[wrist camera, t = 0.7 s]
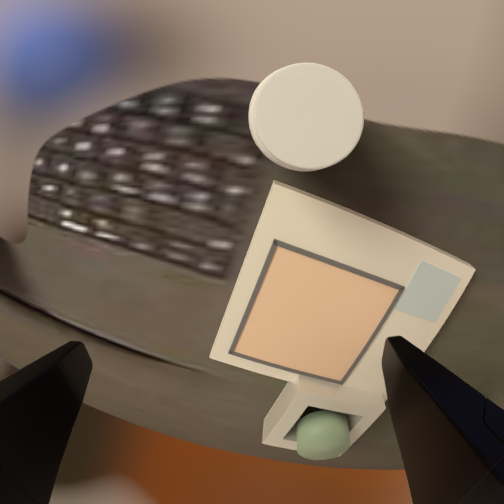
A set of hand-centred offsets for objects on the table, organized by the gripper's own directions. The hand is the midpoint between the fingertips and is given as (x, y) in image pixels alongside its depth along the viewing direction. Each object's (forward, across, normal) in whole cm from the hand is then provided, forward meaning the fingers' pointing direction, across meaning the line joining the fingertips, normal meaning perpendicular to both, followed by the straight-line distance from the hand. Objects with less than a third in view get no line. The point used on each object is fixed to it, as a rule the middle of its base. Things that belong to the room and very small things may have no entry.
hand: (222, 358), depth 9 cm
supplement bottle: (+14, -3, -6) cm, 15 cm away
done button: (+10, -4, +18) cm, 21 cm away
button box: (+13, -4, +18) cm, 22 cm away
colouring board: (+13, -6, +7) cm, 16 cm away
